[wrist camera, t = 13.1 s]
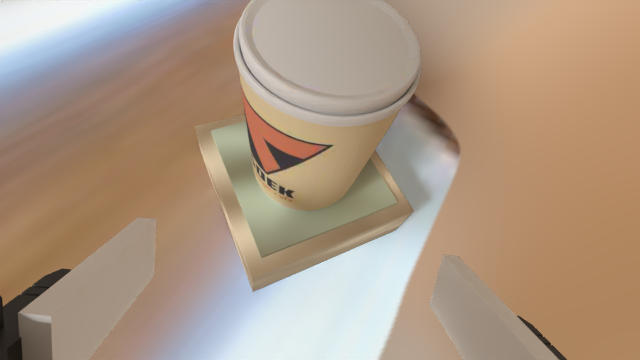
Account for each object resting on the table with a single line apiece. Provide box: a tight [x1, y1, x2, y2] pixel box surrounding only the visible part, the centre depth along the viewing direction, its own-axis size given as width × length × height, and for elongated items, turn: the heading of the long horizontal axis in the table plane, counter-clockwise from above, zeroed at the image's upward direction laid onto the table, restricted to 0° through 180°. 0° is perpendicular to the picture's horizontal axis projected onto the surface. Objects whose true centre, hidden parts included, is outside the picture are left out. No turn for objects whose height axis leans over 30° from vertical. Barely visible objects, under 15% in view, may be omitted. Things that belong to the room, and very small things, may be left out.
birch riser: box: [195, 114, 413, 292], centre depth 28 cm, size 13×13×4 cm
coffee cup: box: [233, 0, 421, 212], centre depth 21 cm, size 9×9×12 cm
